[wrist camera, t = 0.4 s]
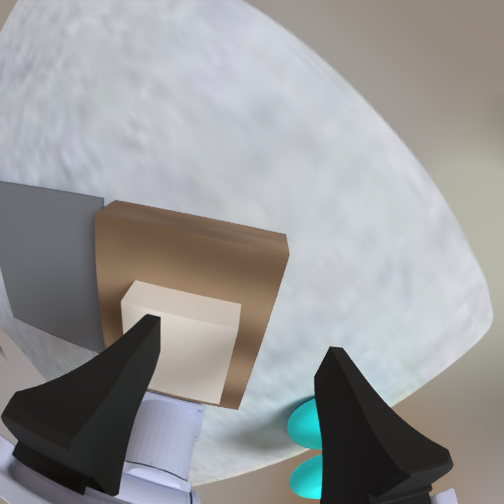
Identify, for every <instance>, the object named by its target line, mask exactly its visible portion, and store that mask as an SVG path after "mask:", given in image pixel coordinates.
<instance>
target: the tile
mask: <svg viewBox="0 0 504 504" xmlns="http://www.w3.org/2000/svg"><path fill="white" fill-rule="evenodd" d="M121 311H122V324H123V335H124V334H125V333H126V332H127V331H128V330H129V329H130V328H132V327H133V326H134V325H135V324H136V323H137V322H138V321H139V320H140V319H141V318H142V317H143V316H144V315H146V314H151V315H155V316H159V317H161V352H160V355H159V358H158V362H157V365H156V369H155V372H154V374H153V376H152V379H151V381H150V383H149V386H148V388H150V389H153V390H157V391H161V392H165V393H168V394H173V395H177V396H181V397H185V398H190V399H194V400H199V401H204V402H209V403H214V404H219V403H220V399H221V395H222V391H223V387H224V383H225V379H226V376H227V372H228V368H229V364H230V360H231V356H232V352H233V348H234V344H235V341H236V337H237V333H238V329H239V320H240V311H241V304H239V303H234V302H229V301H224V300H219V299H214V298H210V297H205V296H200V295H196V294H191V293H187V292H183V291H178V290H174V289H170V288H165V287H161V286H157V285H153V284H149V283H145V282H141V281H137V280H135V281H134V283H133V284H132V286H131V287H130V289H129V290H128V291H127V293H126V294H125V296H124V297H123V299H122V300H121Z"/></svg>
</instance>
